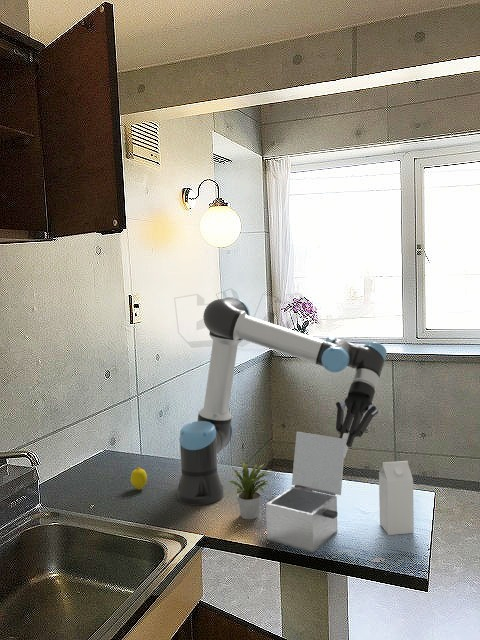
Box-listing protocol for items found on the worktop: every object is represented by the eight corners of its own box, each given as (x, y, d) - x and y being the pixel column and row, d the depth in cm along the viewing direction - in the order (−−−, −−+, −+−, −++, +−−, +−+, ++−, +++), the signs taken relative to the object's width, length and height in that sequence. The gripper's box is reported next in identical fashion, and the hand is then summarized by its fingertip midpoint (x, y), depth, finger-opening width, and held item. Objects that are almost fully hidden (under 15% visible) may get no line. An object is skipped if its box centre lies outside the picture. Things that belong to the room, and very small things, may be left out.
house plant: (260, 531, 156) (258, 474, 155) (217, 523, 162) (215, 468, 161) (280, 511, 169) (278, 458, 167) (239, 504, 175) (237, 453, 174)
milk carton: (379, 524, 158) (378, 458, 157) (404, 522, 159) (403, 456, 157) (388, 535, 151) (387, 466, 150) (414, 533, 152) (413, 465, 150)
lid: (296, 431, 164) (301, 431, 167) (291, 486, 162) (296, 485, 165) (344, 438, 155) (348, 438, 158) (339, 496, 154) (343, 495, 156)
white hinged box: (258, 536, 153) (256, 501, 152) (284, 518, 164) (283, 484, 163) (323, 556, 141) (322, 517, 140) (347, 534, 153) (346, 498, 152)
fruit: (148, 485, 194) (146, 463, 193) (147, 491, 188) (146, 468, 188) (131, 487, 193) (130, 464, 193) (130, 493, 188) (129, 469, 187)
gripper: (387, 395, 171) (366, 465, 158) (347, 392, 178) (324, 458, 166) (380, 381, 166) (358, 452, 154) (339, 378, 173) (316, 445, 161)
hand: (341, 455), depth 160 cm, fingers closed
